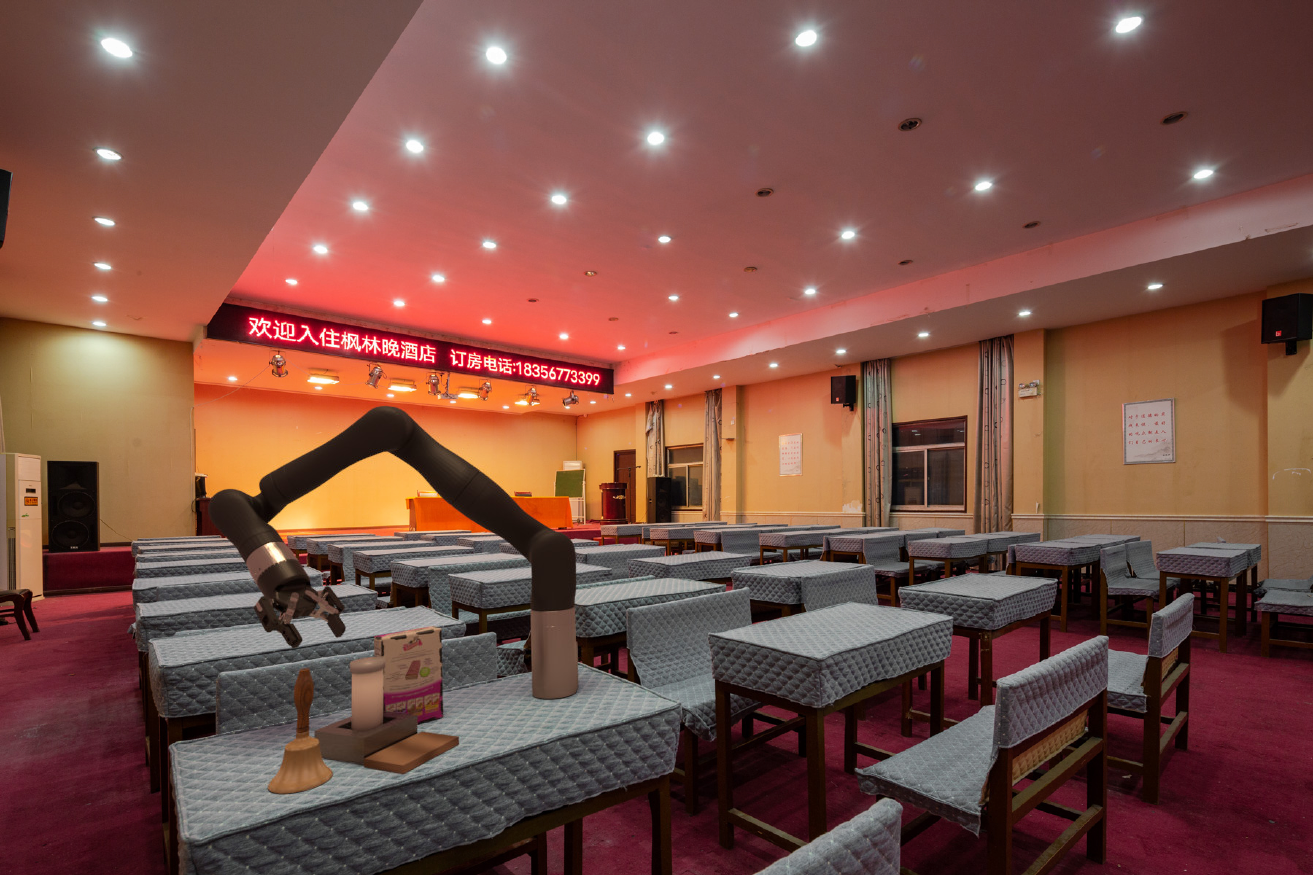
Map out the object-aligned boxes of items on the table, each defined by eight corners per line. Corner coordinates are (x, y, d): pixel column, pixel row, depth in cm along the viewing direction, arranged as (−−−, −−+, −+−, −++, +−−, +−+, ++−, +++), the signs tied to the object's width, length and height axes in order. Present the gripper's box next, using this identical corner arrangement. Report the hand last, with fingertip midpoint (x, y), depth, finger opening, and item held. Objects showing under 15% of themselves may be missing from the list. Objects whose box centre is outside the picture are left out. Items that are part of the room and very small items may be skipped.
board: (421, 738, 107) (421, 731, 107) (458, 743, 104) (458, 736, 104) (363, 766, 96) (363, 758, 96) (403, 773, 93) (403, 765, 93)
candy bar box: (433, 711, 121) (433, 624, 123) (443, 717, 117) (443, 628, 119) (372, 727, 114) (373, 634, 116) (381, 734, 110) (382, 638, 112)
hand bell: (341, 767, 97) (342, 660, 98) (319, 791, 88) (321, 674, 90) (284, 771, 96) (286, 663, 97) (256, 796, 87) (259, 678, 89)
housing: (369, 732, 111) (370, 708, 112) (417, 739, 107) (417, 714, 107) (314, 756, 101) (314, 730, 102) (364, 765, 97) (364, 738, 97)
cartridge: (368, 739, 108) (369, 655, 109) (392, 743, 105) (392, 657, 107) (341, 751, 103) (342, 663, 104) (365, 755, 100) (366, 665, 102)
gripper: (249, 561, 109) (293, 632, 103) (322, 554, 122) (365, 616, 116) (228, 592, 110) (271, 664, 105) (303, 581, 123) (344, 644, 118)
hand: (320, 639), depth 110 cm, fingers open, 8 cm apart
